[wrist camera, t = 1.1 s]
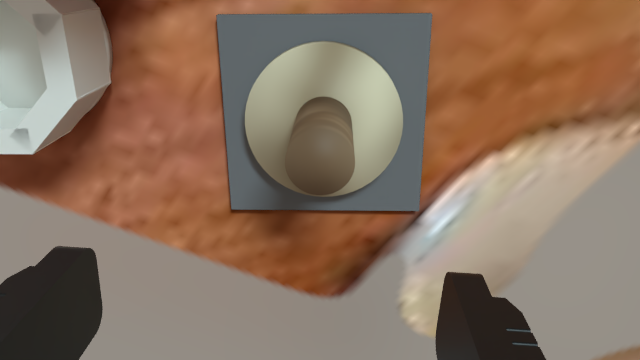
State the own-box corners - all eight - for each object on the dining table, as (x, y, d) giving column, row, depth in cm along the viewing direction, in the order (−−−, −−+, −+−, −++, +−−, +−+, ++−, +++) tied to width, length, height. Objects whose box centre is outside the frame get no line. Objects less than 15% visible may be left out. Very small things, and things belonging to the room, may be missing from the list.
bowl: (98, -50, 27) (49, -54, 22) (124, 127, 30) (87, 155, 26) (-81, -49, 27) (-163, -51, 23) (-34, 127, 31) (-98, 154, 26)
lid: (404, 40, 27) (425, 63, 21) (397, 190, 31) (413, 250, 24) (243, 41, 28) (213, 64, 21) (252, 189, 31) (229, 249, 24)
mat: (430, 13, 27) (432, 13, 27) (417, 207, 32) (418, 211, 31) (218, 14, 28) (216, 15, 27) (233, 206, 32) (231, 209, 31)
